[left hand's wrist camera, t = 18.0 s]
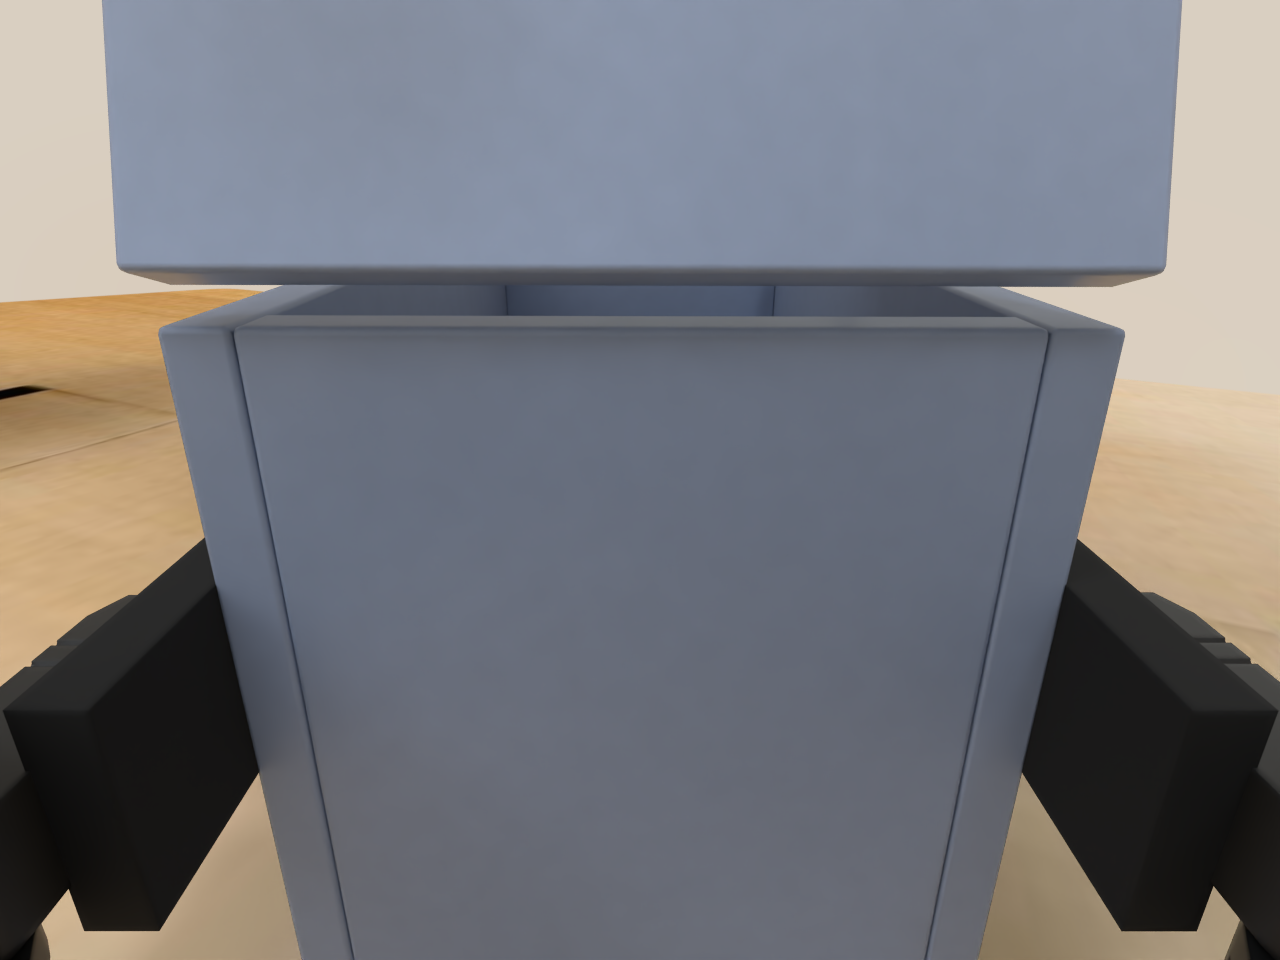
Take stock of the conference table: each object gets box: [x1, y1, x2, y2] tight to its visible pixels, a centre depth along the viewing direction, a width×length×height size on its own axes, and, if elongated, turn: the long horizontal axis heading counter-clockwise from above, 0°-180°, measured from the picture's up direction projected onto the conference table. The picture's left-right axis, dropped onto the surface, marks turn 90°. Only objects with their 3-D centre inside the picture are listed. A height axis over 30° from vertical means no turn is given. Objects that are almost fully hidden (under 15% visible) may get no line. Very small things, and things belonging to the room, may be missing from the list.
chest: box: [158, 285, 1125, 960], centre depth 18 cm, size 17×10×11 cm, turn 0°
